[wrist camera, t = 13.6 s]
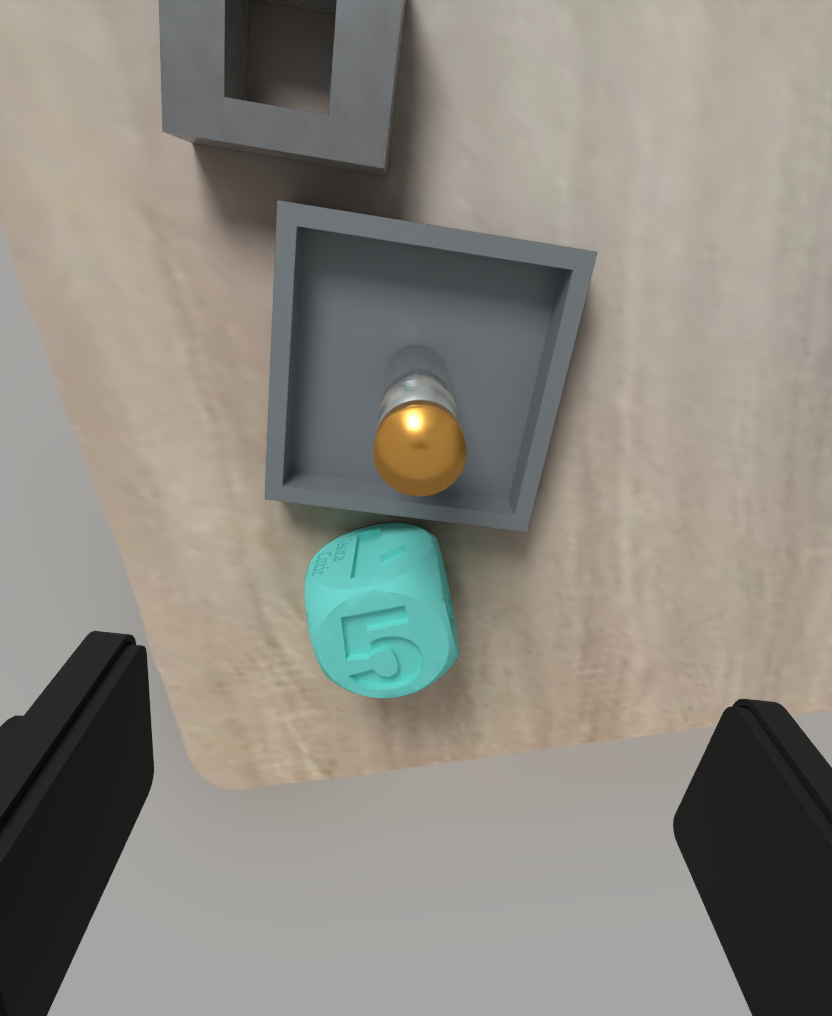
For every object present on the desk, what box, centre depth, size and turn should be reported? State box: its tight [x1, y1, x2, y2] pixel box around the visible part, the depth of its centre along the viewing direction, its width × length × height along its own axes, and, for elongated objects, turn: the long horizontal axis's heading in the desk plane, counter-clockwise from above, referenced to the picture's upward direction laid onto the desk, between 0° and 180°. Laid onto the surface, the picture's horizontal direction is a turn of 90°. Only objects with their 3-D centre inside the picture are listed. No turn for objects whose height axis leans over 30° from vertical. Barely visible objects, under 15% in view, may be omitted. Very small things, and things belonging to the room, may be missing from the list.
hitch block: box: [159, 0, 406, 176], centre depth 27 cm, size 10×8×4 cm
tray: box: [265, 200, 597, 532], centre depth 34 cm, size 16×16×3 cm
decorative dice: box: [305, 523, 459, 698], centre depth 38 cm, size 8×8×8 cm
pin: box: [373, 345, 467, 496], centre depth 29 cm, size 4×4×13 cm
